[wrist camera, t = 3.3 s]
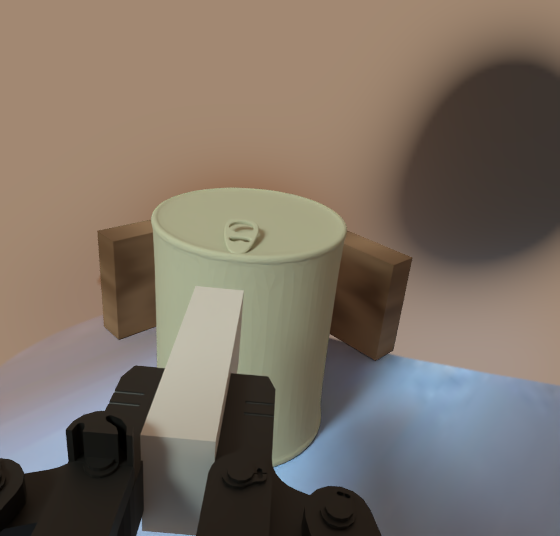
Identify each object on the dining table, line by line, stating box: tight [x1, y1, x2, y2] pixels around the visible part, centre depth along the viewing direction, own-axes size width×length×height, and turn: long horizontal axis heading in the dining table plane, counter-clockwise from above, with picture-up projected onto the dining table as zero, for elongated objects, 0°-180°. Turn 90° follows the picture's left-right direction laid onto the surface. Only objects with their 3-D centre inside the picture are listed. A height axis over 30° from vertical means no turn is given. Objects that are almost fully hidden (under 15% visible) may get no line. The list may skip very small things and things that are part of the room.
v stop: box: [98, 220, 412, 361], centre depth 39 cm, size 11×20×7 cm, turn 88°
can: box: [151, 188, 347, 467], centre depth 28 cm, size 9×9×12 cm
